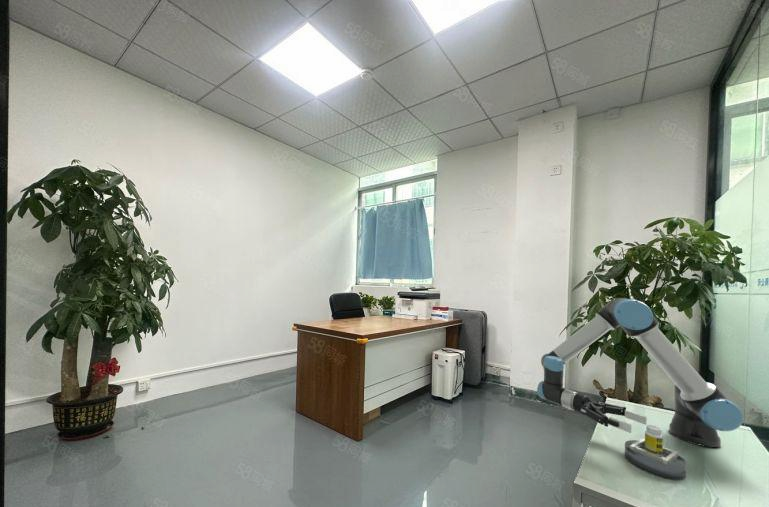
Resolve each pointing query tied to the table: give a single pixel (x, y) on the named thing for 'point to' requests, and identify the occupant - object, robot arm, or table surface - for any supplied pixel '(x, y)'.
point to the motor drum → (655, 461)
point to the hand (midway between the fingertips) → (638, 424)
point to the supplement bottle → (654, 440)
